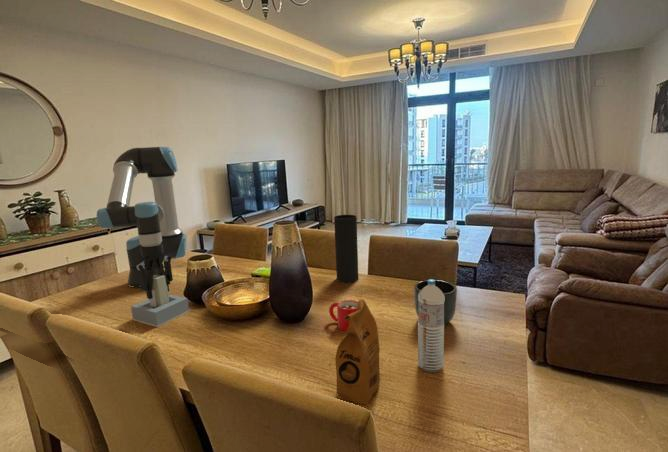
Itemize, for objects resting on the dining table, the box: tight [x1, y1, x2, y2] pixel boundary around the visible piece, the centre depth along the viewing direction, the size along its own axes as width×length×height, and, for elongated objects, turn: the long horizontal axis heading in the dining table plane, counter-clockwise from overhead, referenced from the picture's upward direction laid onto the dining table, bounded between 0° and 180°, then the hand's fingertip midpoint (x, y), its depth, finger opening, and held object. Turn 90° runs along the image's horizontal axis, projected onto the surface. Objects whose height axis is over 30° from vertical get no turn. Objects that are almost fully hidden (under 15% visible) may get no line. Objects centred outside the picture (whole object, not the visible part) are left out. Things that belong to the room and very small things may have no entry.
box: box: [151, 275, 169, 309], centre depth 139 cm, size 5×4×13 cm
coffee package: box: [334, 298, 381, 405], centre depth 91 cm, size 10×12×22 cm
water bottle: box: [417, 278, 445, 374], centre depth 99 cm, size 7×7×25 cm
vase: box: [333, 214, 359, 284], centre depth 170 cm, size 10×10×30 cm
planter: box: [413, 279, 458, 327], centre depth 126 cm, size 14×14×13 cm
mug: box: [328, 299, 358, 332], centre depth 127 cm, size 8×12×8 cm, turn 59°
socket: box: [130, 293, 190, 328], centre depth 141 cm, size 14×14×6 cm
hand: (159, 303), depth 140 cm, fingers closed on box, 5 cm apart
